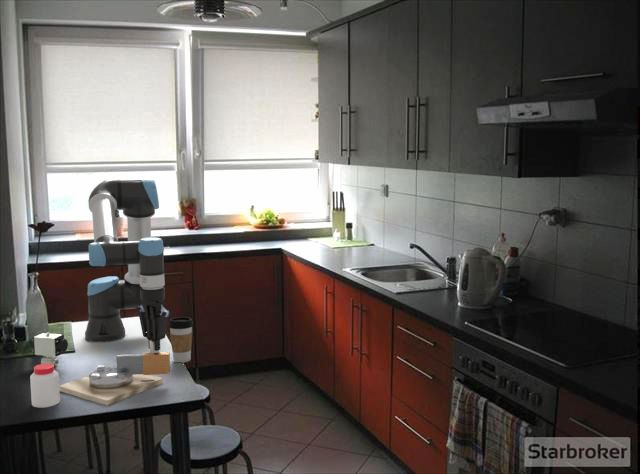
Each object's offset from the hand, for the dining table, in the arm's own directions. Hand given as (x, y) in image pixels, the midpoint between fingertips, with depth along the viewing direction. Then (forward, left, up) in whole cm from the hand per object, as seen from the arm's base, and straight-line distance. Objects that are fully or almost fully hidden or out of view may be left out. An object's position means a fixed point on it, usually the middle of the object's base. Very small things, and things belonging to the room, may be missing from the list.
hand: (154, 359), depth 211 cm
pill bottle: (+30, -14, -7) cm, 34 cm away
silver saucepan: (+7, -3, -5) cm, 10 cm away
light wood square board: (+11, -8, -7) cm, 15 cm away
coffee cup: (-20, -8, -7) cm, 23 cm away
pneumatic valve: (+9, -41, -7) cm, 43 cm away
